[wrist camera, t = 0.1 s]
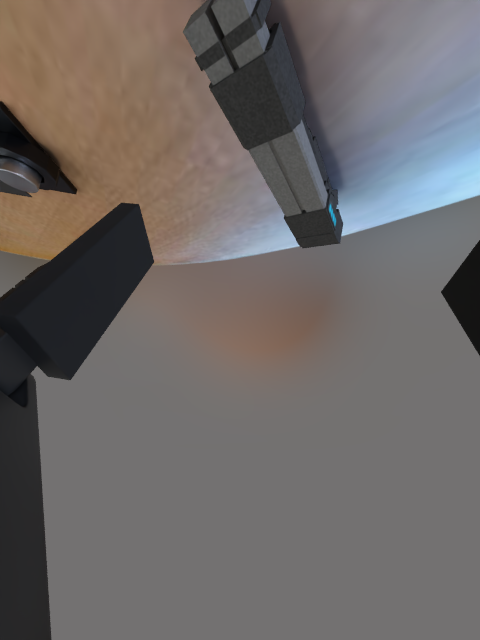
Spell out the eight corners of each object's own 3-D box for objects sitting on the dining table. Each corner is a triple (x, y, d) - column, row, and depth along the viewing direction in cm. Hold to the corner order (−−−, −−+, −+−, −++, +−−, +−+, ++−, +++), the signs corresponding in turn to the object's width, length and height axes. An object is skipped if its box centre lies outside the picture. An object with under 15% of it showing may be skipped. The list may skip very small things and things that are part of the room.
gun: (313, 207, 32) (294, 270, 28) (234, -27, 18) (174, 31, 14) (351, 199, 29) (337, 266, 25) (295, -83, 15) (242, -32, 11)
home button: (15, 176, 31) (11, 189, 31) (-14, 150, 27) (-18, 165, 27) (49, 182, 32) (46, 195, 31) (26, 157, 28) (21, 173, 27)
